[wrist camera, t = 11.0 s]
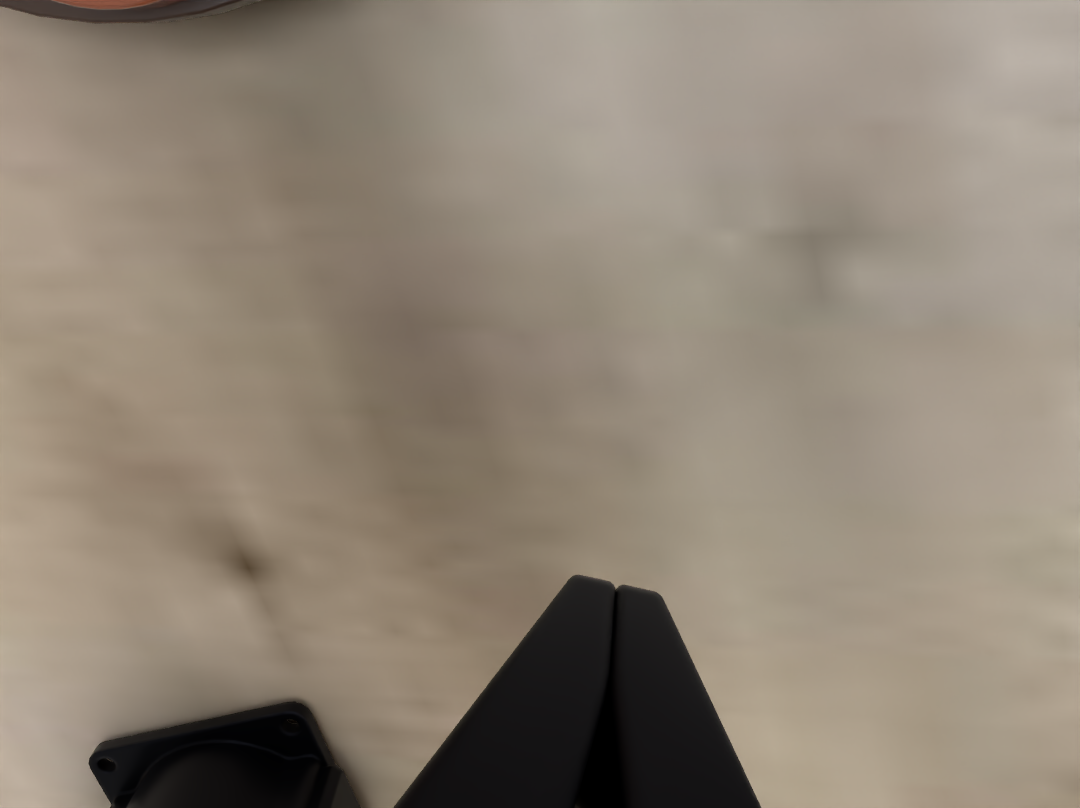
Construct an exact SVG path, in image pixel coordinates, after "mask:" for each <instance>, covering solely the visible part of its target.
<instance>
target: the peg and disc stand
mask: <svg viewBox="0 0 1080 808" xmlns="http://www.w3.org/2000/svg"><path fill="white" fill-rule="evenodd" d="M258 1H261V0H0V6H2V7H6V8H10V9H13V10H17V11H21V12H25V13H29V14H32V15H36V16H41V17H49V18H57V19H65V20H73V21H81V22H89V23H147V22H173V21H179V20H186V19H192V18H198V17H204V16H210V15H216V14H221V13H224V12H228V11H231V10H234V9H237V8H240V7H243V6H246V5H249V4H252V3H255V2H258Z"/></svg>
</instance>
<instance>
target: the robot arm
mask: <svg viewBox="0 0 1080 808" xmlns="http://www.w3.org/2000/svg"><path fill="white" fill-rule="evenodd" d="M287 719H292V720H294V721H296V722H297V723H298V724H292V723H290V722H288V720H287ZM107 758H108V759H110V760H112V761H113V762H112V761H109V760H108V759H107ZM89 766H90V769H91V771H92V772H93V774H94V776H95V777H96V779H97V781H98V782H99V784H100V786H101V787H102V789H103V791H104V793H105V794H106V796H107V798H108V799H109V801H110V803H111V804H112V805H111V807H110V808H361V807H360V805H359V803H358V801H357V799H356V797H355V795H354V792H353V790H352V788H351V786H350V784H349V782H348V779H347V777H346V775H345V773H344V771H343V770H342V769H341V768H340V767H339V766H337V765H336V764H335V762H334V760H333V758H332V756H331V754H330V751H329V749H328V747H327V745H326V743H325V741H324V739H323V736H322V734H321V732H320V730H319V728H318V726H317V724H316V721H315V719H314V717H313V715H312V713H311V712H310V710H309V709H308V708H307V707H306V706H304V705H303V704H301V703H297V702H286V703H282V704H277V705H272V706H268V707H263V708H258V709H254V710H249V711H244V712H240V713H235V714H230V715H226V716H221V717H216V718H212V719H207V720H202V721H198V722H193V723H188V724H184V725H179V726H175V727H170V728H165V729H161V730H156V731H151V732H147V733H142V734H137V735H133V736H128V737H123V738H119V739H114V740H109V741H105V742H103V743H100V744H99V745H98V746H97V748H96V749H95V751H94V752H93V754H92V755H91V757H90V758H89ZM394 808H761V806H760V804H759V802H758V800H757V798H756V795H755V793H754V791H753V789H752V787H751V785H750V783H749V781H748V778H747V776H746V774H745V772H744V770H743V768H742V766H741V763H740V761H739V759H738V757H737V755H736V753H735V751H734V749H733V746H732V744H731V742H730V740H729V738H728V736H727V734H726V732H725V729H724V727H723V725H722V723H721V721H720V719H719V717H718V715H717V712H716V710H715V708H714V706H713V704H712V702H711V700H710V697H709V695H708V693H707V691H706V689H705V687H704V685H703V683H702V680H701V678H700V676H699V674H698V672H697V670H696V668H695V666H694V663H693V661H692V659H691V657H690V655H689V653H688V651H687V649H686V646H685V644H684V642H683V640H682V638H681V636H680V634H679V632H678V629H677V627H676V625H675V623H674V621H673V619H672V617H671V614H670V612H669V610H668V608H667V606H666V604H665V602H664V600H663V598H662V596H661V595H660V594H658V593H657V592H654V591H650V590H646V589H641V588H637V587H632V586H628V585H621V586H619V587H618V588H617V589H616V590H615V587H614V585H613V584H612V583H611V582H609V581H605V580H601V579H596V578H592V577H587V576H583V575H574V576H572V577H571V578H570V579H569V580H568V581H567V583H566V584H565V585H564V586H563V588H562V589H561V590H560V592H559V593H558V594H557V596H556V597H555V598H554V599H553V601H552V602H551V603H550V605H549V606H548V607H547V609H546V610H545V611H544V612H543V614H542V615H541V616H540V618H539V619H538V620H537V622H536V623H535V624H534V625H533V627H532V628H531V629H530V631H529V632H528V633H527V635H526V636H525V637H524V638H523V640H522V641H521V642H520V644H519V645H518V646H517V648H516V649H515V650H514V651H513V653H512V654H511V655H510V657H509V658H508V659H507V661H506V662H505V663H504V664H503V666H502V667H501V668H500V670H499V671H498V672H497V674H496V675H495V676H494V677H493V679H492V680H491V681H490V683H489V684H488V685H487V687H486V688H485V689H484V690H483V692H482V693H481V694H480V696H479V697H478V698H477V700H476V701H475V702H474V703H473V705H472V706H471V707H470V709H469V710H468V711H467V713H466V714H465V715H464V716H463V718H462V719H461V720H460V722H459V723H458V724H457V726H456V727H455V728H454V729H453V731H452V732H451V733H450V735H449V736H448V737H447V739H446V740H445V741H444V742H443V744H442V745H441V746H440V748H439V749H438V750H437V752H436V753H435V754H434V756H433V757H432V758H431V759H430V761H429V762H428V763H427V765H426V766H425V767H424V769H423V770H422V771H421V772H420V774H419V775H418V776H417V778H416V779H415V780H414V782H413V783H412V784H411V785H410V787H409V788H408V789H407V791H406V792H405V793H404V795H403V796H402V797H401V798H400V800H399V801H398V802H397V804H396V805H395V806H394Z"/></svg>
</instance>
